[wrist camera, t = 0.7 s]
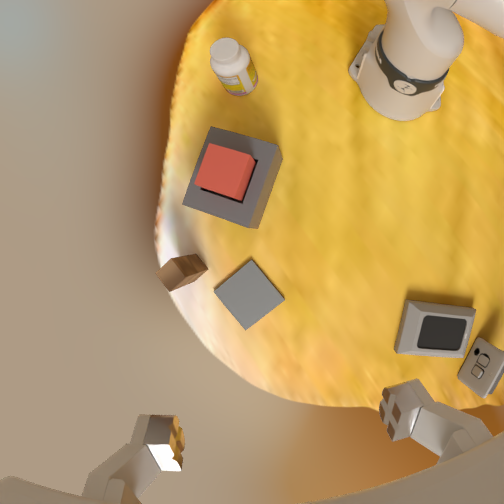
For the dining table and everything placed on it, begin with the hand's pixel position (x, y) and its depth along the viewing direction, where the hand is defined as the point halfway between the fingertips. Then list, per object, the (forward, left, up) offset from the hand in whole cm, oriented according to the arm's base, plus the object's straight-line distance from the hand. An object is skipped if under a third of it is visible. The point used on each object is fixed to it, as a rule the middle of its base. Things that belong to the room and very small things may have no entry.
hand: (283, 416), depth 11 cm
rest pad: (+7, -8, -44) cm, 45 cm away
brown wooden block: (+6, -19, -44) cm, 48 cm away
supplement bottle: (-30, -23, -44) cm, 58 cm away
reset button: (-11, -16, -36) cm, 41 cm away
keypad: (+1, +27, -45) cm, 53 cm away
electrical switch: (+4, +40, -44) cm, 60 cm away
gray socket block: (-11, -16, -44) cm, 48 cm away
